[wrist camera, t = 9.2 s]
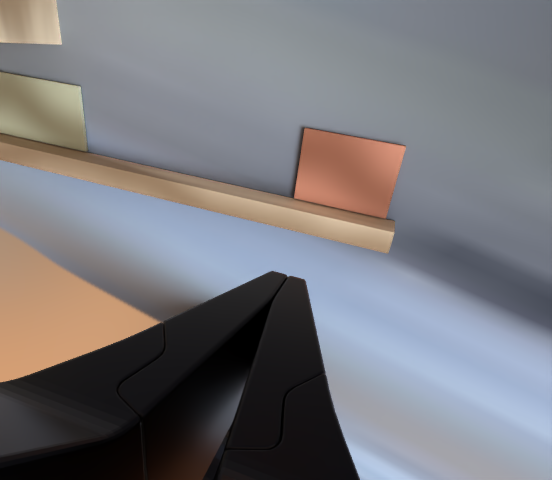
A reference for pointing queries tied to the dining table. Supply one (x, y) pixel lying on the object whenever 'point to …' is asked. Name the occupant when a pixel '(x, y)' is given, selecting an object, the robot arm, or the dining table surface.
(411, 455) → the dining table surface
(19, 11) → the maple block
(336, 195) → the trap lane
